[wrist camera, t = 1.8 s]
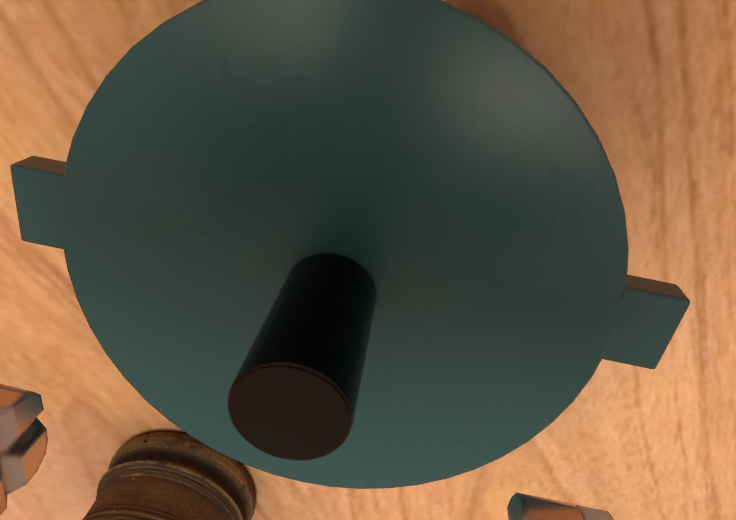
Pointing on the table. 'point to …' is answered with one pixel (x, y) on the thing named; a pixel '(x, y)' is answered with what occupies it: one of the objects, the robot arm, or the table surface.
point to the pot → (628, 345)
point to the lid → (344, 236)
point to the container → (172, 482)
